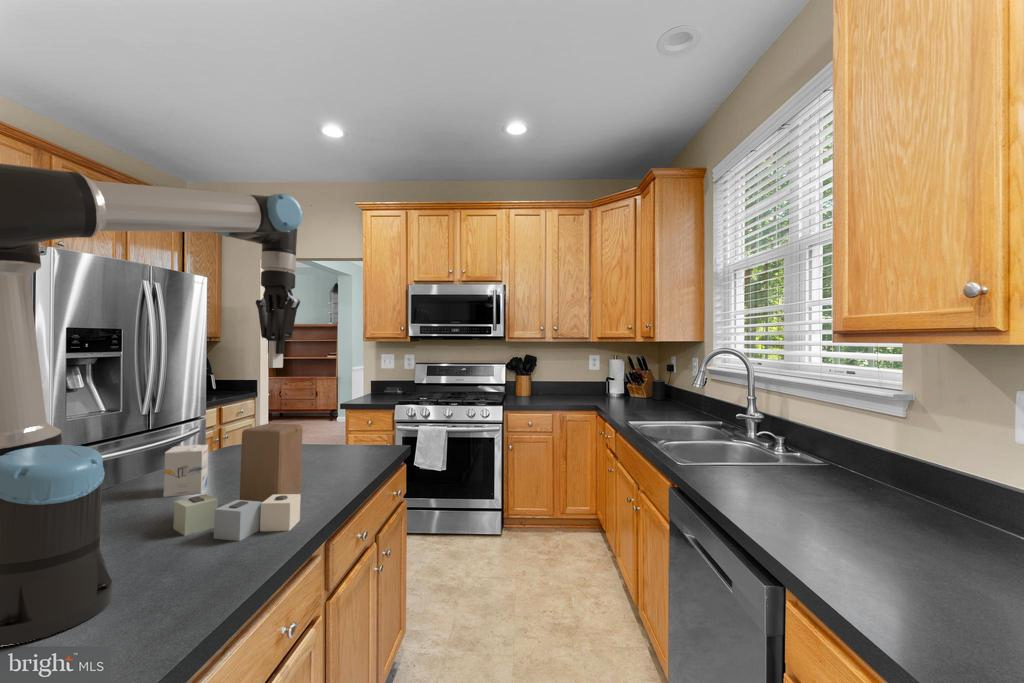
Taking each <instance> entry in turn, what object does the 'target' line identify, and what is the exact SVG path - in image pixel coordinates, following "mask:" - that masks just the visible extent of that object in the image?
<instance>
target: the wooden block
mask: <svg viewBox="0 0 1024 683" xmlns="http://www.w3.org/2000/svg"><path fill="white" fill-rule="evenodd" d="M303 430H304V428H303V425H300V424H297V423H296V424H294V423H293V424H292V423H265V424H261V425H260V424H259V425H257V426H253V427H248V428H246V429H242V432H241V452H240V477H239V478H240V480H239V481H240V482H239V500H246V501H258V502H264V501H265V500H266V499H268V498H269V497H270V496H272V495H273V494H302V493H301V491H302V490H301V488H302V485H301V484H302V483H301V482H302V460H303V459H302V458H303V457H302V456H303V432H304V431H303Z"/></svg>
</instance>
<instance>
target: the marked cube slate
mask: <svg viewBox="0 0 1024 683" xmlns="http://www.w3.org/2000/svg"><path fill="white" fill-rule="evenodd" d="M261 503H262V502H258V501H246V500H240V499H236V500H233V501H231V502H229V503H226V504H224V505H221V506H218V508H216V509H215V514H214V528H213V539H217V540H226V541H237V542H240V541H243V540H244V539H246V538H248V537H250V536H252V535H254V534H255V533H257V532H259V531H260V517H261Z"/></svg>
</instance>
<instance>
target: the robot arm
mask: <svg viewBox="0 0 1024 683" xmlns="http://www.w3.org/2000/svg"><path fill="white" fill-rule="evenodd" d="M302 222H303V210H302V207H301V205H300V203H299V202H298V200H296V198H294V197H293V196H291V195H289V194H286V193H273V194H271V195H259V194H258V195H257V194H246V193H235V192H227V191H226V192H225V191H211V190H201V189H191V188H190V189H189V188H180V187H179V188H177V187H168V186H156V185H144V184H134V183H133V184H132V183H124V182H122V183H121V182H114V181H113V182H110V181H100V180H99V181H98V180H91V179H90V178H88V177H87V176H86V175H85V174H83V173H82V172H77V171H68V170H58V169H50V168H42V167H33V166H28V165H27V166H26V165H16V164H8V163H0V646H1V645H9V644H17V643H21V642H26V641H30V640H34V639H38V638H41V639H44V638H47V637H50V636H53V635H55V633H56V634H58V633H57V632H59V633H61V632H63V630H64V631H66V630H68V628H69V629H71V628H73V627H75V626H78V625H80V624H82V623H83V622H86V621H87V620H90V619H91V618H94V617H95V616H96V615H98V614H99V613H101V612H102V611H103V610H104V609H105V608H107V606H109V605H110V603H112V600H113V598H114V580H113V578H112V575H111V572H110V570H109V567H108V566H107V564H106V561H105V558H104V556H103V554H102V552H101V529H102V528H101V527H102V512H103V511H102V510H103V507H102V506H103V489H104V488H103V487H104V480H105V474H106V472H105V468H104V464H103V463H104V461H103V456H102V454H101V453H100V452H99V451H98V450H96V449H94V448H91V447H88V446H83V445H70V444H63V438H62V437H63V436H62V431H61V430H62V429H60V428H58V427H56V426H54V425H52V424H50V423H48V422H47V415H46V406H45V397H44V391H43V390H44V389H43V381H42V374H41V373H42V372H41V365H40V364H41V363H40V358H39V348H38V341H37V333H36V325H35V316H34V310H33V308H34V307H33V301H32V300H33V298H32V293H31V292H32V291H31V283H30V277H31V275H33V274H34V273H35V272H36V271H38V270H39V269H41V268H42V262H41V261H42V260H41V253H40V244H39V243H42V242H47V241H53V240H60V239H73V238H93V237H95V236H96V235H97V234H98V233H99V232H156V233H157V232H165V233H167V232H168V233H169V232H172V233H173V232H178V233H179V232H183V233H185V232H188V233H189V232H191V233H192V232H193V233H214V234H217V235H220V236H223V237H225V238H233V239H237V240H240V241H242V240H243V241H246V242H251V243H256V244H258V245H259V244H260V245H261V258H260V259H261V262H260V268H261V269H262V271H261V273H260V286H261V287H263V288H264V292H263V294H262V298H261V299H256V300H255V305H256V307H257V311H258V318H259V328H260V333H261V335H260V336H261V338H262V339H266V341H267V354H268V356H267V357H268V359H267V360H268V362H267V368H270V369H271V368H274V369H275V368H278V369H279V368H280V369H281V368H283V367H284V354H285V348H286V347H285V342H286V341H287V340H288V339H292V337H293V333H294V327H295V321H296V316H297V311H298V308H299V306H300V303H301V300H300V299H297V298H295V297H294V294H293V291H292V290H293V289H296V274H295V273H294V272H296V262H297V261H296V260H297V243H298V242H297V239H298V230H299V229H298V228H299V227H300V225H301V224H302ZM60 631H61V632H60ZM52 634H53V635H52ZM43 637H44V638H43ZM38 640H39V639H38ZM34 641H35V640H34Z"/></svg>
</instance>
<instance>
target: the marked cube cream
mask: <svg viewBox="0 0 1024 683" xmlns="http://www.w3.org/2000/svg"><path fill="white" fill-rule="evenodd" d="M301 494H302V493H301ZM301 494H273V495H272V496H270V497H269V498H268V499H266V500H265V501H264V502H262V503H261V517H260V530H259V531H260V532H289V531H291V530H292V529H293V528H294V527H296V525H297V523H299V522H300V521H301Z"/></svg>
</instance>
